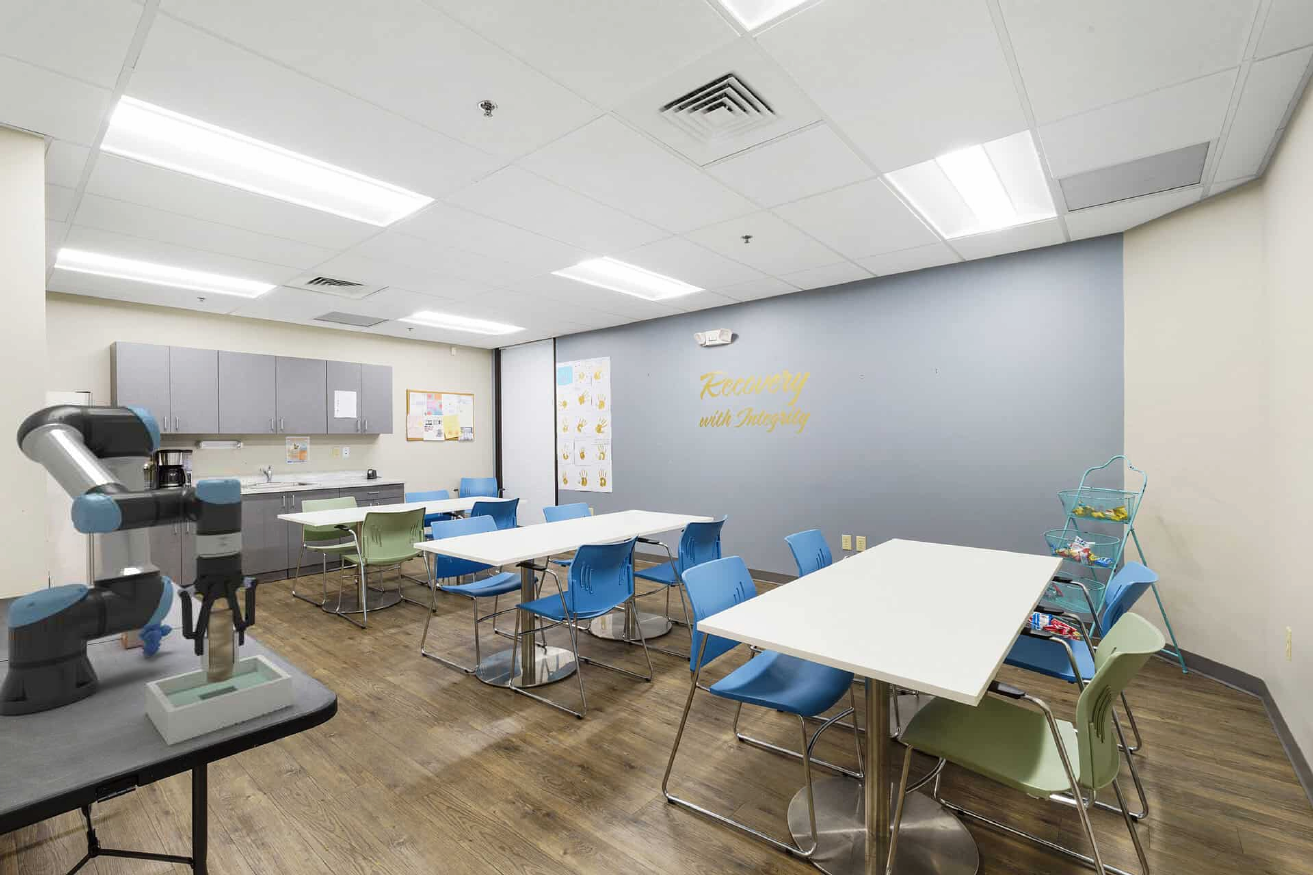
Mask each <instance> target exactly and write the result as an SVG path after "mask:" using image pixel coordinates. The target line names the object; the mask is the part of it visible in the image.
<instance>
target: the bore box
mask: <svg viewBox="0 0 1313 875" xmlns="http://www.w3.org/2000/svg"><path fill="white" fill-rule="evenodd" d="M145 702H146V703H145V713H146V715H147V716H148V717H149V719H150V720H151V722H152V723H153V725H154V727H155V728H156V729H157V731H158V732H159V734H160V735H161V737H162V738H163V740H164V741H165V742H166V744H167V746H172V745H174V744H177V743H181V742H184V741H186V740H190V739H193V738H195V737H196V738H197V737H199V736H202V735H205V734H208V733H211V732H215V731H218V730H221V729H224V728H227V727H230V726H233V725H236V724H235V723H237V724H239V723H243V722H246V721H249V720H252V719H255V718H258V717H261V716H264V715H267V714H270V713H274V712H276V711H275V710H277V711H279V709H280V710H282V708H283V709H285V707H286V706H289V707H291V706H290V705H292V706H293V676H291V675H290V674H289V673H287V672H286V671H284V670H283V669H282V668H280V667H279V666H277V664H275V663H274V662H272V661H271V660H269V659H268V658H266V657H265V656H264V655H262V654H256V655H253V656H252V655H251V656H249V657H244V658H241V659H240V658H239V663H238V664H233V677H232V678H231V679H229V680H226V681H223V682H218V683H208V682H207V672H204V671H203V670H201V669H198V670H194V671H190V672H186V673H181V674H178V675H174V676H170V677H166V678H162V679H159V680H154V681H150V682H147V683H145ZM286 708H287V707H286ZM273 711H274V712H273ZM269 712H270V713H269ZM263 714H264V715H263ZM242 721H243V722H242ZM223 727H224V728H223Z"/></svg>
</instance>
